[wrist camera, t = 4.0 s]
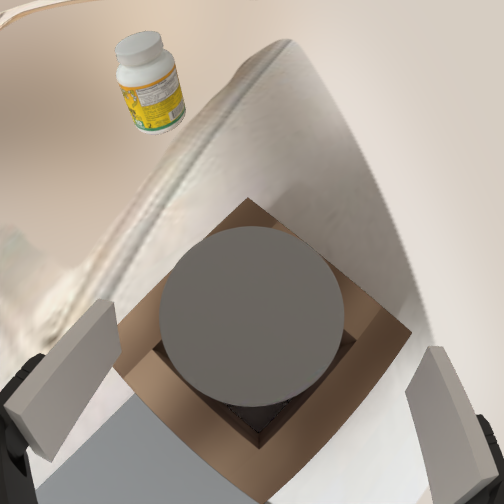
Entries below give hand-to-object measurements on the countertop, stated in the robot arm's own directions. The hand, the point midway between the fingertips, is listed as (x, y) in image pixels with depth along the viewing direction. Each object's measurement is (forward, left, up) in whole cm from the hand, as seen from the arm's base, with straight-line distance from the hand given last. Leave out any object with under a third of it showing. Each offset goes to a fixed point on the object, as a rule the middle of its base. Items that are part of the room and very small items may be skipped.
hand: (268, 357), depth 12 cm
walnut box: (-1, 0, -9) cm, 10 cm away
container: (-1, 0, -10) cm, 10 cm away
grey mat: (+3, -16, -9) cm, 19 cm away
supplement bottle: (-23, +10, -10) cm, 27 cm away
